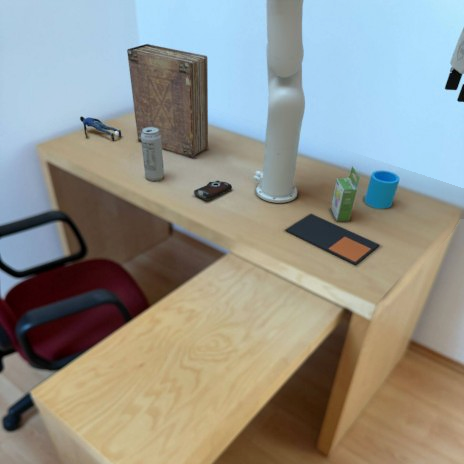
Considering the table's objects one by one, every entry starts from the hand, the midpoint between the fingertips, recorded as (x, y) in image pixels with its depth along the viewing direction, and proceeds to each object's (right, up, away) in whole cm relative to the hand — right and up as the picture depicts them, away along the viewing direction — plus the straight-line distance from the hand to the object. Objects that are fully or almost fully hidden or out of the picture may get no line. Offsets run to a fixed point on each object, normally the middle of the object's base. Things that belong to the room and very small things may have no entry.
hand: (456, 95), depth 114 cm
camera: (-64, -20, +21) cm, 71 cm away
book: (-80, +4, +46) cm, 92 cm away
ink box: (-27, -28, +13) cm, 42 cm away
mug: (-14, -22, +21) cm, 33 cm away
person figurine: (-108, +10, +51) cm, 120 cm away
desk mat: (-32, -36, +4) cm, 49 cm away
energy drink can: (-83, -13, +27) cm, 89 cm away
